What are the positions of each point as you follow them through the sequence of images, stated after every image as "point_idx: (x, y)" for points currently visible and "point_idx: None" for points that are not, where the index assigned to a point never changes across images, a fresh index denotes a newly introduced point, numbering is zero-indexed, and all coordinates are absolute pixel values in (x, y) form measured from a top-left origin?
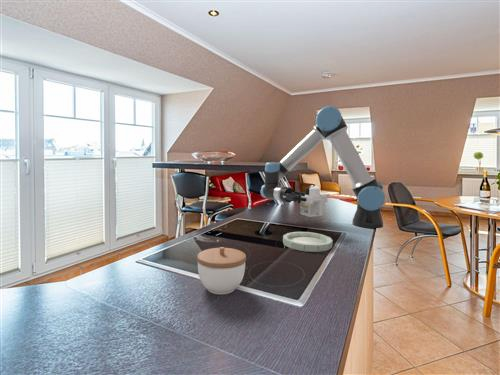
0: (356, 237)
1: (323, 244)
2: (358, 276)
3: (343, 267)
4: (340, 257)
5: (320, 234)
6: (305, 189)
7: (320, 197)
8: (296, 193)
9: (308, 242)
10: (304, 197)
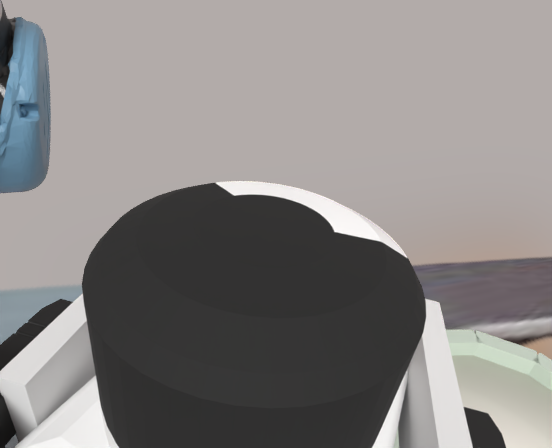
0: None
1: (505, 341)
2: (530, 259)
3: (529, 286)
4: (477, 305)
5: None
6: (394, 383)
7: None
8: None
9: (515, 436)
10: (463, 439)
